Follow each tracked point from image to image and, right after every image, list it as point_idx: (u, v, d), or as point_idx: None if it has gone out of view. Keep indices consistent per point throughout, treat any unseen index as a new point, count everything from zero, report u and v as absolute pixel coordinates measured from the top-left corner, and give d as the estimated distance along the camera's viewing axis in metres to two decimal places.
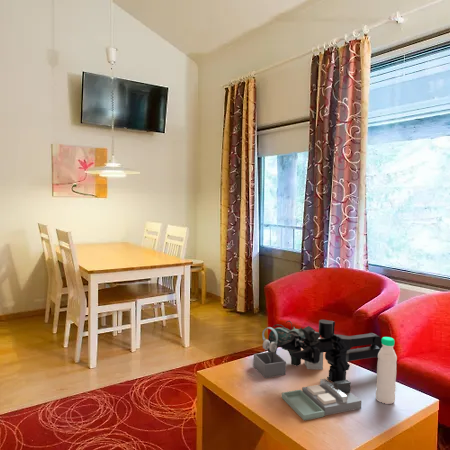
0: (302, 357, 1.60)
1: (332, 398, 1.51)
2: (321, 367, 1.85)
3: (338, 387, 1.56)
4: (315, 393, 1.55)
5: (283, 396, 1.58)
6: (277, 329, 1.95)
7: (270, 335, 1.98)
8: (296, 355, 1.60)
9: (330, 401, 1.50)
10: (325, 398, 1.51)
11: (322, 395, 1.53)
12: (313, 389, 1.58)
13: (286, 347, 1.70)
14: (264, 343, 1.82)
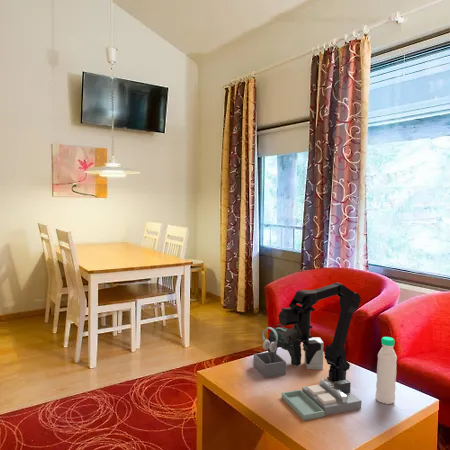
0: (312, 355, 1.59)
1: (332, 398, 1.51)
2: (321, 367, 1.85)
3: (338, 387, 1.56)
4: (315, 393, 1.55)
5: (283, 396, 1.58)
6: (277, 329, 1.95)
7: (270, 335, 1.98)
8: (309, 360, 1.60)
9: (330, 401, 1.50)
10: (325, 398, 1.51)
11: (322, 395, 1.53)
12: (313, 389, 1.58)
13: (298, 349, 1.69)
14: (264, 343, 1.82)
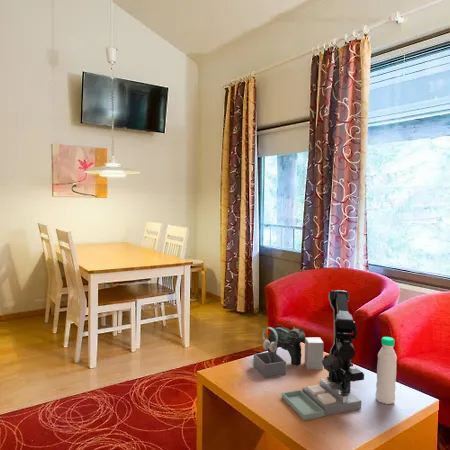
0: (349, 381, 1.56)
1: (332, 398, 1.51)
2: (321, 367, 1.85)
3: (338, 387, 1.56)
4: (315, 393, 1.55)
5: (283, 396, 1.58)
6: (277, 329, 1.95)
7: (270, 335, 1.98)
8: (346, 386, 1.56)
9: (330, 401, 1.50)
10: (325, 398, 1.51)
11: (322, 395, 1.53)
12: (313, 389, 1.58)
13: None
14: (264, 343, 1.82)
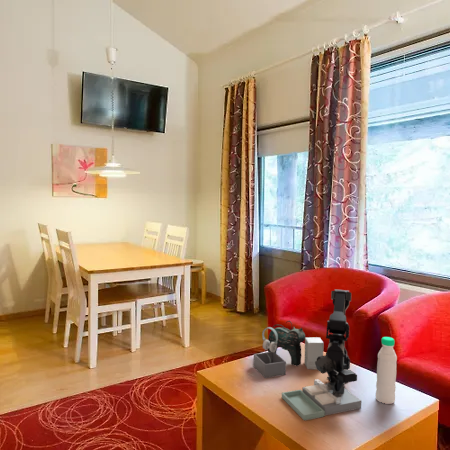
0: (342, 382, 1.55)
1: (330, 398, 1.51)
2: None
3: (332, 388, 1.55)
4: (313, 393, 1.55)
5: (283, 396, 1.58)
6: (277, 329, 1.95)
7: (270, 335, 1.98)
8: (339, 387, 1.55)
9: (328, 402, 1.49)
10: (323, 398, 1.50)
11: (320, 395, 1.53)
12: (311, 389, 1.57)
13: (335, 381, 1.59)
14: (264, 343, 1.82)
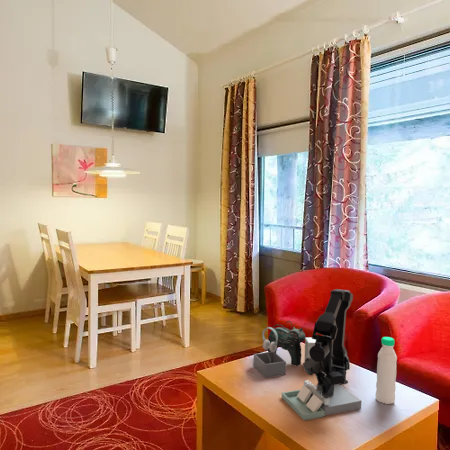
0: (330, 384, 1.53)
1: (318, 401, 1.48)
2: None
3: (321, 389, 1.53)
4: (305, 401, 1.54)
5: (283, 396, 1.58)
6: (277, 329, 1.95)
7: (270, 335, 1.98)
8: (327, 389, 1.53)
9: (318, 406, 1.48)
10: (313, 406, 1.49)
11: (310, 402, 1.51)
12: (301, 397, 1.56)
13: (323, 383, 1.57)
14: (264, 343, 1.82)
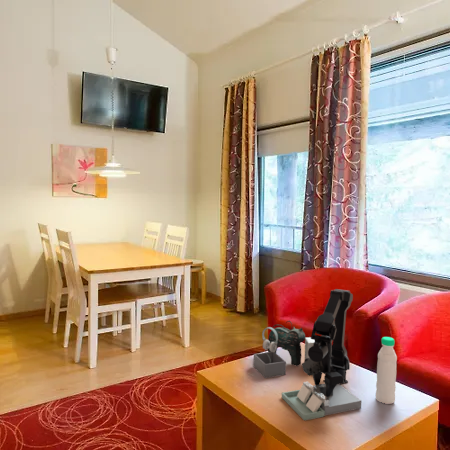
0: (333, 387, 1.51)
1: (317, 401, 1.48)
2: None
3: (320, 390, 1.53)
4: (304, 401, 1.54)
5: (283, 396, 1.58)
6: (277, 329, 1.95)
7: (270, 335, 1.98)
8: (329, 392, 1.51)
9: (318, 406, 1.48)
10: (312, 406, 1.49)
11: (309, 402, 1.51)
12: (301, 397, 1.56)
13: (319, 381, 1.59)
14: (264, 343, 1.82)
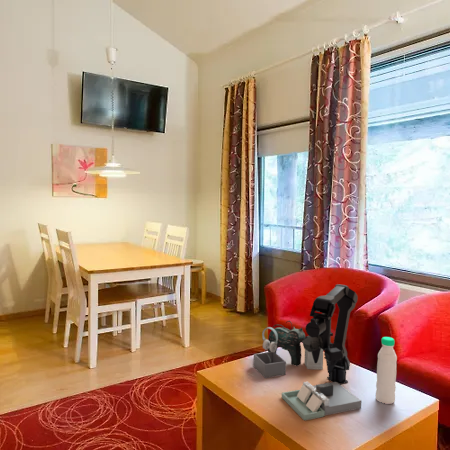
0: (334, 363, 1.55)
1: (317, 401, 1.48)
2: (321, 367, 1.85)
3: (320, 390, 1.53)
4: (304, 401, 1.54)
5: (283, 396, 1.58)
6: (277, 329, 1.95)
7: (270, 335, 1.98)
8: (330, 369, 1.55)
9: (318, 406, 1.48)
10: (312, 406, 1.49)
11: (309, 402, 1.51)
12: (301, 397, 1.56)
13: (317, 356, 1.64)
14: (264, 343, 1.82)
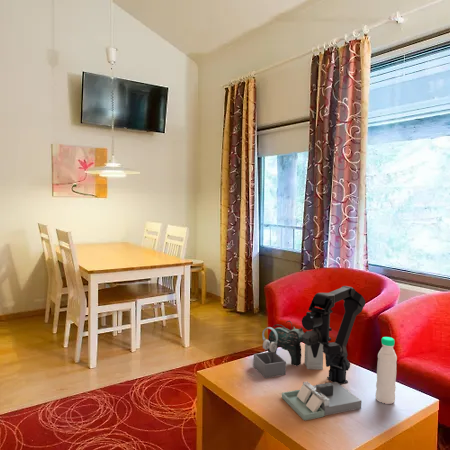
0: (332, 357, 1.59)
1: (317, 401, 1.48)
2: (321, 367, 1.85)
3: (320, 390, 1.53)
4: (304, 401, 1.54)
5: (283, 396, 1.58)
6: (277, 329, 1.95)
7: (270, 335, 1.98)
8: (329, 363, 1.60)
9: (318, 406, 1.48)
10: (312, 406, 1.49)
11: (309, 402, 1.51)
12: (301, 397, 1.56)
13: (316, 351, 1.69)
14: (264, 343, 1.82)
